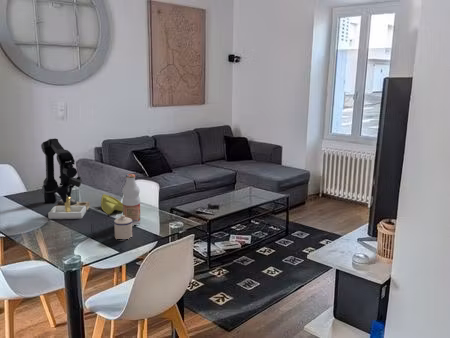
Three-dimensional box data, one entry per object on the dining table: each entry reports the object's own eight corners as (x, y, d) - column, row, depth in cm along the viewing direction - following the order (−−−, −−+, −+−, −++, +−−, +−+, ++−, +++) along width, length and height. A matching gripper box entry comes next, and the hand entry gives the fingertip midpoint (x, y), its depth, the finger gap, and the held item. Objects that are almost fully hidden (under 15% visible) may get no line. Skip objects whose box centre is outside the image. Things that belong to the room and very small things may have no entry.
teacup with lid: (136, 237, 207) (135, 215, 204) (121, 242, 200) (120, 220, 197) (122, 230, 215) (122, 210, 212) (107, 235, 208) (106, 214, 205)
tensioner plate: (55, 210, 242) (55, 202, 241) (59, 206, 250) (59, 198, 248) (86, 210, 244) (86, 202, 243) (89, 206, 252) (89, 198, 250)
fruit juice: (119, 224, 224) (118, 175, 218) (132, 219, 231) (131, 172, 225) (131, 228, 219) (129, 178, 212) (144, 223, 226) (143, 174, 220)
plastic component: (128, 208, 244) (114, 203, 237) (123, 219, 244) (108, 215, 237) (115, 197, 259) (101, 193, 252) (110, 208, 259) (96, 204, 252)
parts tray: (48, 218, 228) (48, 213, 227) (54, 211, 240) (54, 206, 239) (81, 218, 230) (81, 212, 230) (86, 211, 242) (85, 206, 241)
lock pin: (63, 215, 233) (62, 198, 231) (65, 212, 237) (64, 196, 235) (70, 214, 233) (69, 198, 231) (72, 212, 237) (71, 196, 235)
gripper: (76, 177, 221) (77, 205, 225) (83, 170, 239) (85, 195, 243) (55, 177, 220) (56, 205, 224) (64, 170, 238) (65, 195, 242)
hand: (67, 200), depth 233 cm, fingers open, 9 cm apart
